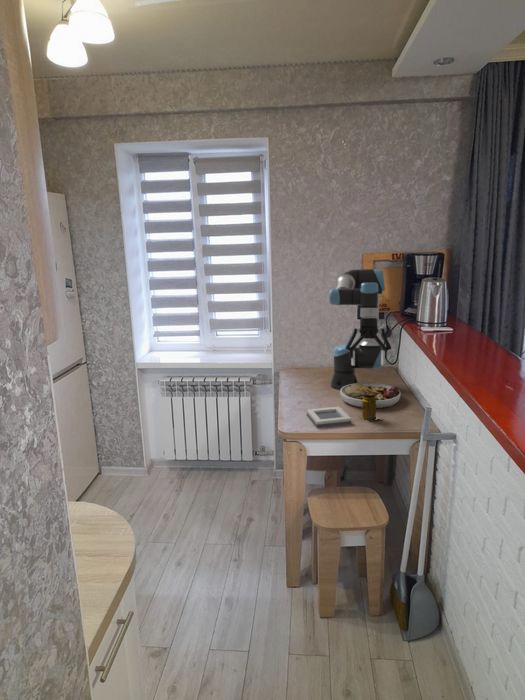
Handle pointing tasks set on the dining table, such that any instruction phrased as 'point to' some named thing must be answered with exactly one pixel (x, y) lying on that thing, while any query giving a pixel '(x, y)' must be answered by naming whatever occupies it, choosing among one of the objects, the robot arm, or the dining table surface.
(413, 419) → the dining table surface
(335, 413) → the pocket plate
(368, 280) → the robot arm
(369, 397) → the condiment
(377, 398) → the bowl
